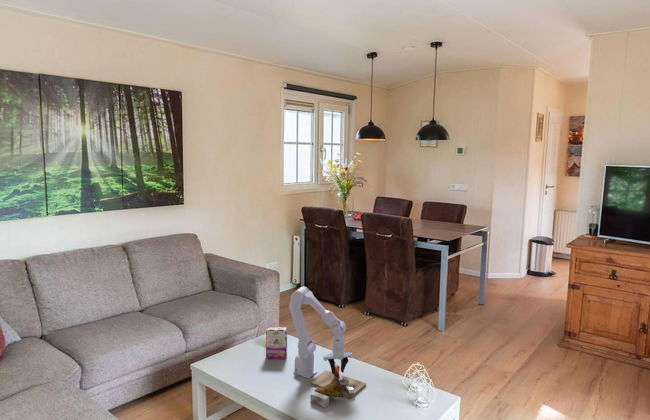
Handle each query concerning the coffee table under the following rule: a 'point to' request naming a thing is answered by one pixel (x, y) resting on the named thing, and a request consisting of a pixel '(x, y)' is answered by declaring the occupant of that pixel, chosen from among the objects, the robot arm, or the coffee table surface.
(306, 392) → the coffee table surface
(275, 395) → the coffee table surface
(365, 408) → the coffee table surface
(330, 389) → the potato
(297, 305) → the robot arm
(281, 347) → the candy bar box
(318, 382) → the board
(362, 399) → the coffee table surface
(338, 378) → the lever
